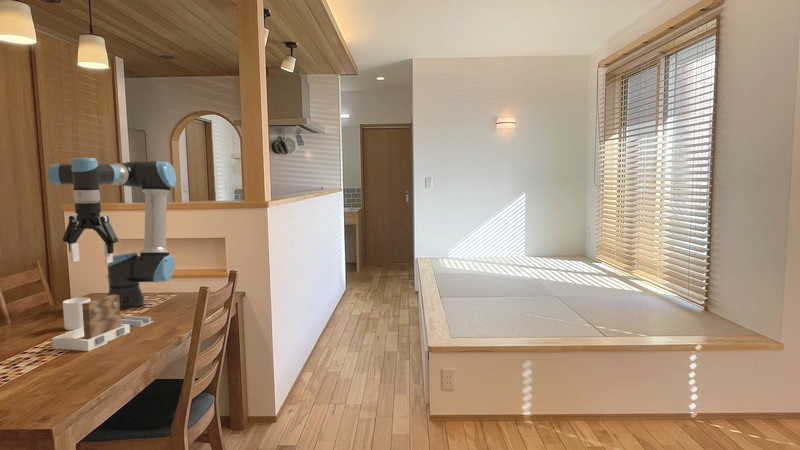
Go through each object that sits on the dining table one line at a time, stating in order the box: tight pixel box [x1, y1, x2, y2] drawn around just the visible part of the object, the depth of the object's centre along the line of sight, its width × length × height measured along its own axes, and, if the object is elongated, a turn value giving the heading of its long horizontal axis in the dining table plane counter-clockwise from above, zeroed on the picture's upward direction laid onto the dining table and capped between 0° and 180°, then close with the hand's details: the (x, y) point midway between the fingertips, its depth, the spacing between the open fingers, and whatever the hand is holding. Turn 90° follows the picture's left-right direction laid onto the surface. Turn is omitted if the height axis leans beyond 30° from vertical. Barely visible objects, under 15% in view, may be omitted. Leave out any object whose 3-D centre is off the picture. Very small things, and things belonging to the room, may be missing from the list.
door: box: [82, 294, 122, 340], centre depth 163 cm, size 13×3×14 cm, turn 169°
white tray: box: [51, 324, 131, 352], centre depth 164 cm, size 18×14×4 cm
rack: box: [121, 315, 155, 328], centre depth 183 cm, size 7×13×2 cm, turn 79°
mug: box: [62, 297, 91, 331], centre depth 179 cm, size 9×12×11 cm
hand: (92, 262), depth 167 cm, fingers open, 13 cm apart
